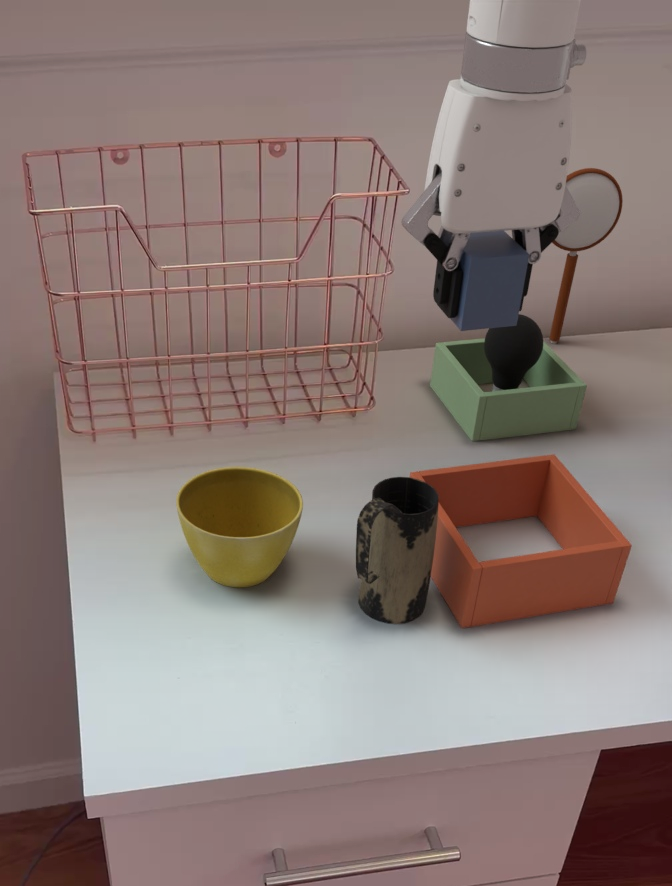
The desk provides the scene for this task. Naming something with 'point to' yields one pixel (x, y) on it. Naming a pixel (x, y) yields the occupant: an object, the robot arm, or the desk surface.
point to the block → (491, 281)
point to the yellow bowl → (239, 522)
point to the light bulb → (513, 352)
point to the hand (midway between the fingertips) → (478, 305)
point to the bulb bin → (505, 393)
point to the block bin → (528, 576)
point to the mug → (396, 549)
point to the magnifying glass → (585, 227)
